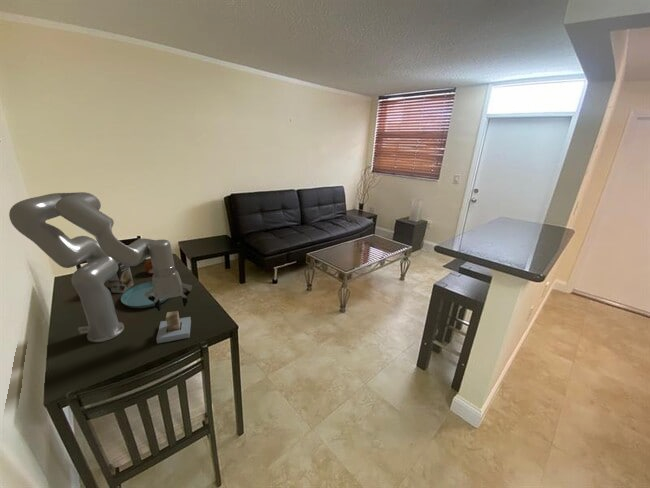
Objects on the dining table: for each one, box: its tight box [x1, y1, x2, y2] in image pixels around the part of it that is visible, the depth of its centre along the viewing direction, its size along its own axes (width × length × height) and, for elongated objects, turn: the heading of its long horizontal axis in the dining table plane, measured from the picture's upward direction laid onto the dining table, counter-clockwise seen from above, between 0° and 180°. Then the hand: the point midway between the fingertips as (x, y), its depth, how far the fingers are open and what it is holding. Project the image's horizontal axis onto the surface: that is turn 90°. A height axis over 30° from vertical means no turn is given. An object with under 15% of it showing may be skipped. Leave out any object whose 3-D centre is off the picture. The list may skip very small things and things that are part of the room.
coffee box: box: [107, 260, 134, 294], centre depth 151 cm, size 9×6×16 cm
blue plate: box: [120, 281, 170, 309], centre depth 146 cm, size 24×24×3 cm
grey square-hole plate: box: [155, 316, 192, 344], centre depth 122 cm, size 12×12×2 cm
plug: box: [165, 310, 181, 332], centre depth 121 cm, size 4×4×9 cm
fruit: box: [144, 259, 153, 276], centre depth 170 cm, size 10×10×10 cm
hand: (172, 306), depth 118 cm, fingers open, 9 cm apart
